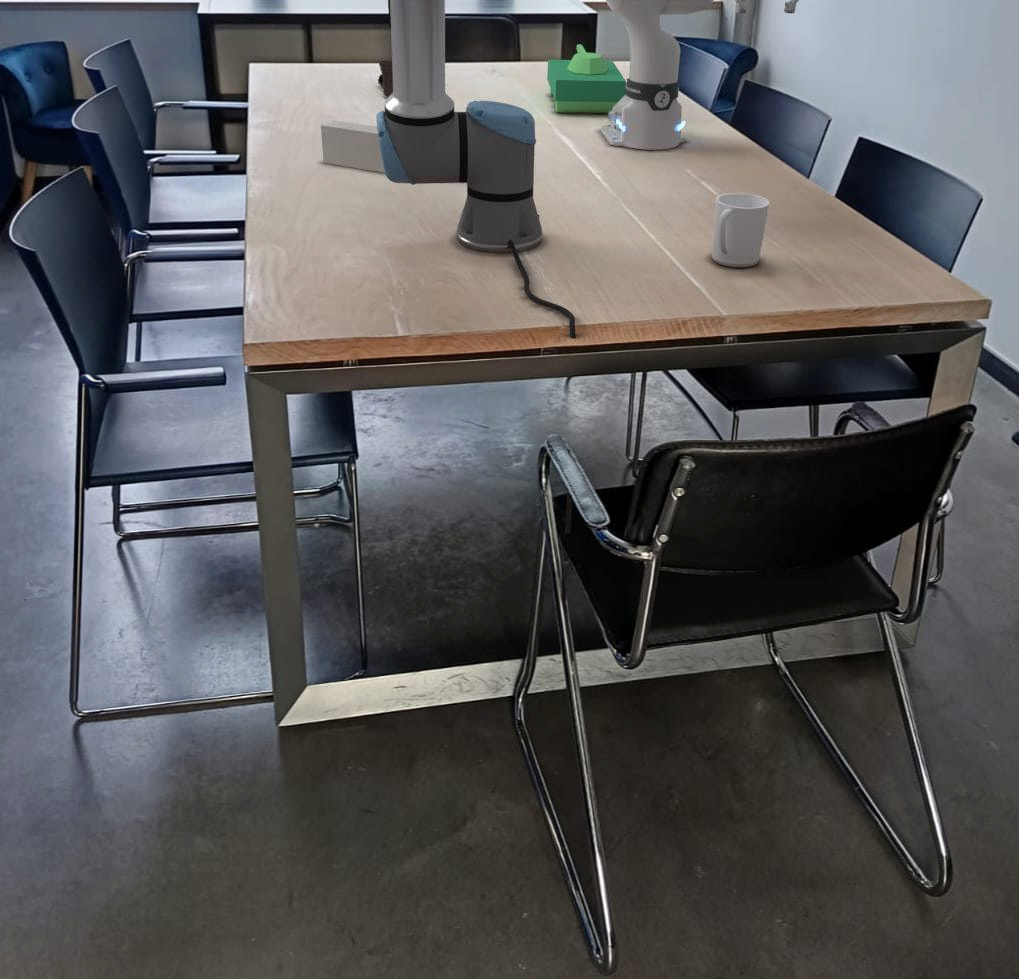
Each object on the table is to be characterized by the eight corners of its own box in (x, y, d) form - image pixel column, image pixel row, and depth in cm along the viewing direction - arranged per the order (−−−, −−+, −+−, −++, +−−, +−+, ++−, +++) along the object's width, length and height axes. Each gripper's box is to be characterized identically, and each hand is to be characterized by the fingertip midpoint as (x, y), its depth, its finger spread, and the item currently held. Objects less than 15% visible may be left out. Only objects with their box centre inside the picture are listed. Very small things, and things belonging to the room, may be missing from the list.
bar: (438, 173, 232) (438, 135, 228) (426, 179, 228) (425, 140, 224) (336, 157, 241) (334, 120, 237) (323, 162, 237) (320, 125, 233)
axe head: (443, 87, 294) (392, 77, 287) (436, 115, 299) (385, 106, 292) (421, 62, 307) (371, 52, 300) (414, 89, 311) (365, 80, 304)
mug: (725, 247, 195) (732, 189, 189) (770, 259, 190) (779, 200, 184) (692, 263, 187) (699, 203, 182) (739, 275, 183) (747, 215, 177)
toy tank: (609, 41, 303) (627, 65, 273) (606, 87, 310) (623, 116, 280) (546, 39, 302) (556, 64, 272) (544, 86, 309) (554, 115, 279)
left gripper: (428, -103, 215) (430, 14, 226) (357, -96, 196) (363, 30, 207) (461, -101, 212) (461, 17, 224) (393, -94, 193) (397, 34, 205)
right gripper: (824, -72, 199) (812, 10, 207) (716, -73, 197) (707, 10, 204) (838, -69, 194) (824, 15, 201) (727, -70, 191) (717, 15, 199)
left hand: (414, 23), depth 216 cm, fingers open, 13 cm apart
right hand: (764, 12), depth 203 cm, fingers open, 8 cm apart
